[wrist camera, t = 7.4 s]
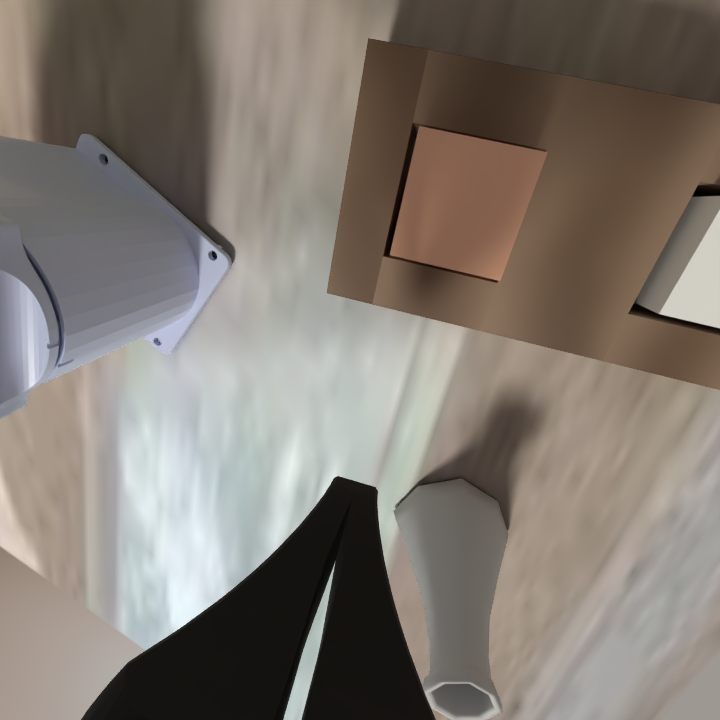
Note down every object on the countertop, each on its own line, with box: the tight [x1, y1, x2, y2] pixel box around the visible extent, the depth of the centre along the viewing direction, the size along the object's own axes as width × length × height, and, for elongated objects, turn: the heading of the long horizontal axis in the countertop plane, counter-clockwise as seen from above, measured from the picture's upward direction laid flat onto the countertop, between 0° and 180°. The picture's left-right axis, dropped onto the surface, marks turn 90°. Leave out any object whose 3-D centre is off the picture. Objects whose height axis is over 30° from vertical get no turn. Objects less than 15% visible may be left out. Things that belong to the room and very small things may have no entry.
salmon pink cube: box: [390, 126, 548, 281], centre depth 14 cm, size 4×4×4 cm
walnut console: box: [327, 38, 720, 390], centre depth 15 cm, size 19×9×4 cm, turn 78°
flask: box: [394, 479, 508, 720], centre depth 20 cm, size 7×7×10 cm
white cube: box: [634, 196, 720, 328], centre depth 14 cm, size 4×4×4 cm
